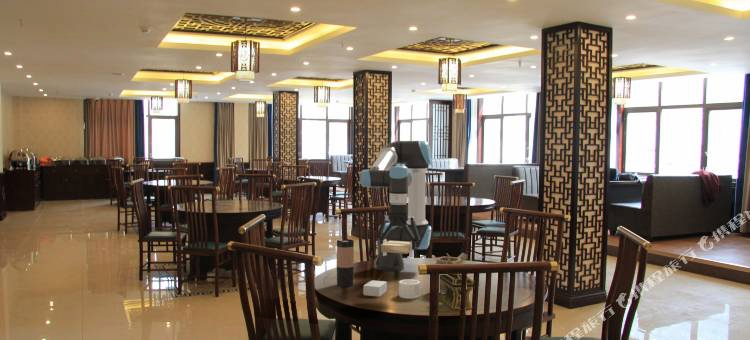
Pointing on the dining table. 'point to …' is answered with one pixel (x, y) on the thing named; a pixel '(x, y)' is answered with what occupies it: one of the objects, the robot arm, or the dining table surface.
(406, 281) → the bowl
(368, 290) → the white rectangular block
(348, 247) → the travel mug
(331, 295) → the dining table surface
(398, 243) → the lid
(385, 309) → the dining table surface
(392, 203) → the robot arm
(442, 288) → the tankard
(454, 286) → the decorative box
